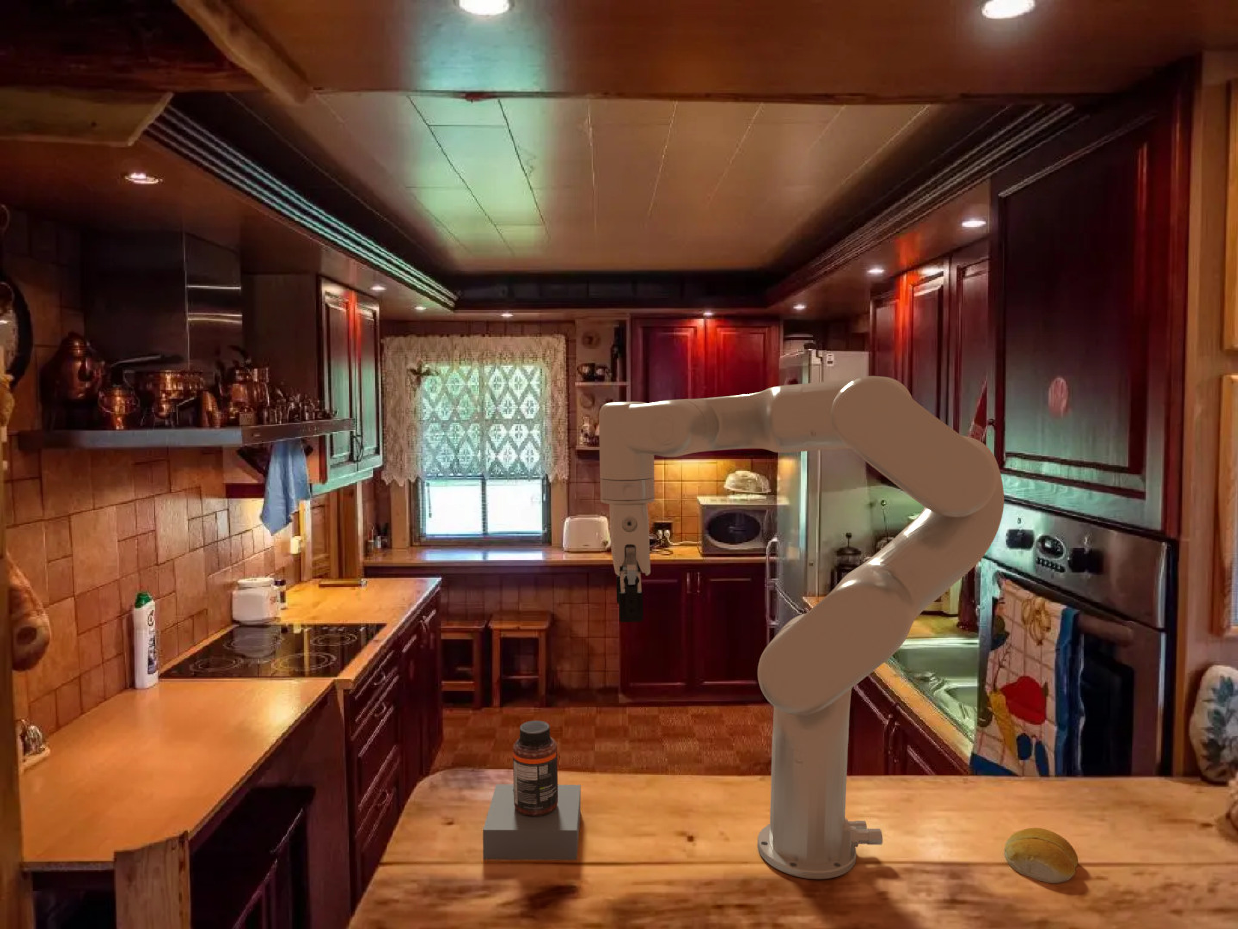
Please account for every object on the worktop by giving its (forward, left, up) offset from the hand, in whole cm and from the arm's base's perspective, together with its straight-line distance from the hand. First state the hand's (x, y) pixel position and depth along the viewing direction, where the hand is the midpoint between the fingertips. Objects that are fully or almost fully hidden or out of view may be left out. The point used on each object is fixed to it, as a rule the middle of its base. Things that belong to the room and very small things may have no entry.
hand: (629, 611), depth 116 cm
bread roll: (-53, +13, -30) cm, 62 cm away
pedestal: (+13, +7, -29) cm, 32 cm away
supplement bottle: (+13, +7, -25) cm, 29 cm away
